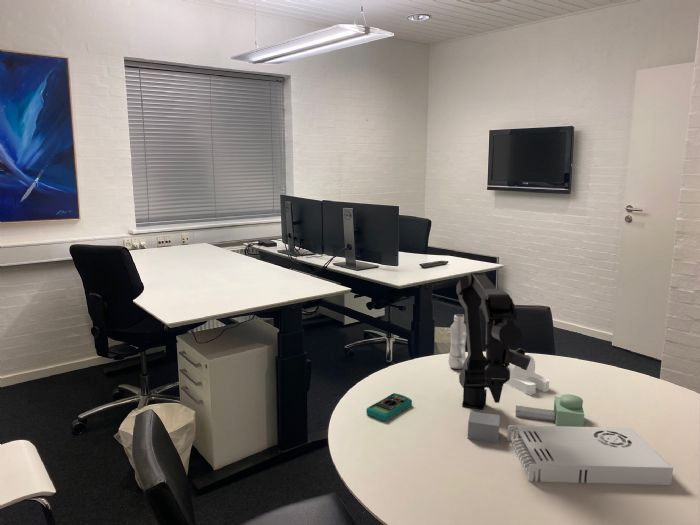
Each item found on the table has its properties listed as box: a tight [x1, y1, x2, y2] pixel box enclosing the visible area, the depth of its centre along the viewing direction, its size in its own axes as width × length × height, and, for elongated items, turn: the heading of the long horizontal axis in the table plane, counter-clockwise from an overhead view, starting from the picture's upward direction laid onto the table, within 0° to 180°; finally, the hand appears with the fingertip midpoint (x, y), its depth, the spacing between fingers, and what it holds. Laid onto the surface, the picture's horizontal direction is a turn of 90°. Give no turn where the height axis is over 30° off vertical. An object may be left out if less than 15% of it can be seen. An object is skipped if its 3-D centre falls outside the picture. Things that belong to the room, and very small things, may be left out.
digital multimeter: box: [365, 392, 413, 422], centre depth 156 cm, size 7×15×3 cm, turn 140°
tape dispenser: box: [505, 353, 550, 396], centre depth 176 cm, size 10×18×11 cm, turn 25°
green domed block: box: [515, 393, 585, 427], centre depth 150 cm, size 18×10×7 cm, turn 73°
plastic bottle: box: [448, 313, 467, 370], centre depth 188 cm, size 6×7×20 cm
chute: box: [467, 410, 501, 444], centre depth 141 cm, size 8×6×5 cm
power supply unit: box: [506, 424, 674, 486], centre depth 128 cm, size 19×33×5 cm, turn 88°
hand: (496, 397), depth 138 cm, fingers open, 9 cm apart
